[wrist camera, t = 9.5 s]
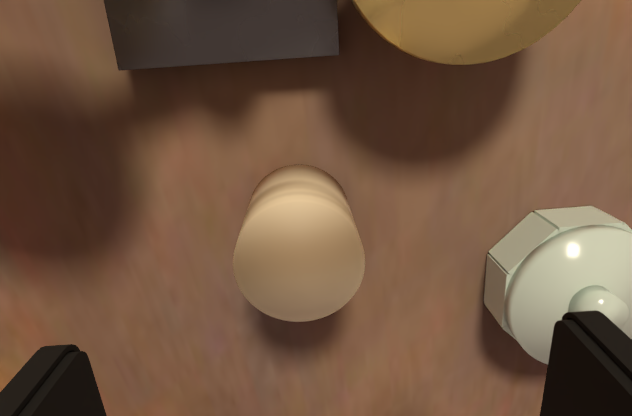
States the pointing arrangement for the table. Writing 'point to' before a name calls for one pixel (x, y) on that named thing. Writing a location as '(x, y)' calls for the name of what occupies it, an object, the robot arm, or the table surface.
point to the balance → (322, 29)
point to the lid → (559, 274)
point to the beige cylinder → (298, 246)
